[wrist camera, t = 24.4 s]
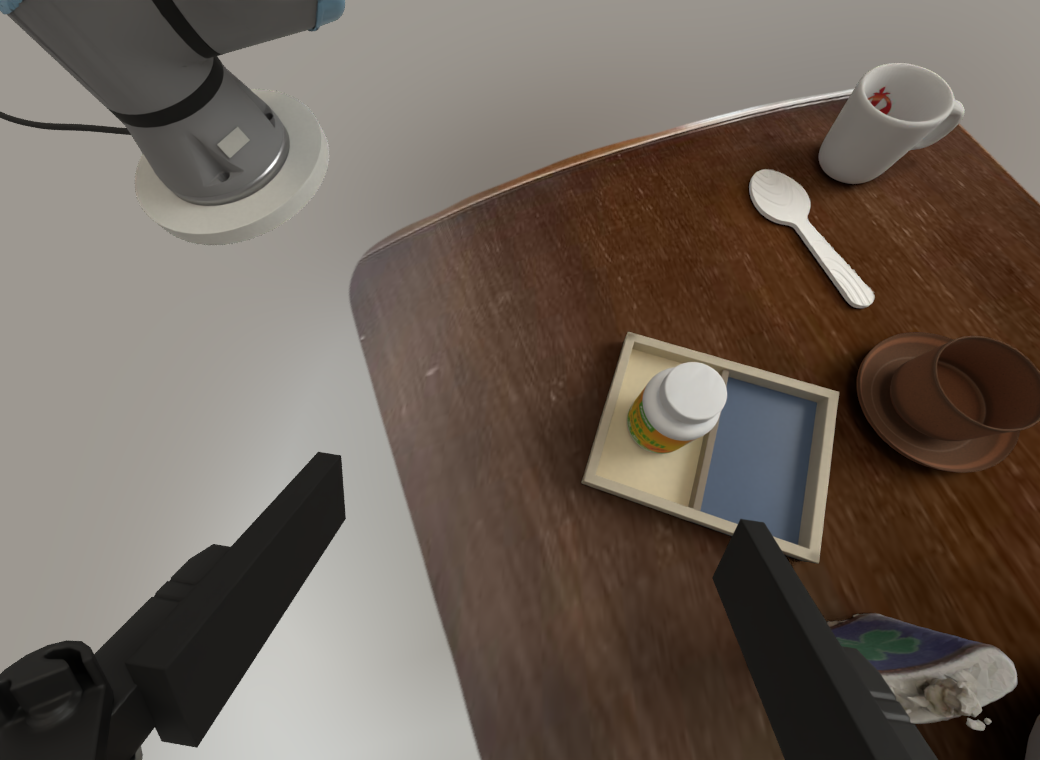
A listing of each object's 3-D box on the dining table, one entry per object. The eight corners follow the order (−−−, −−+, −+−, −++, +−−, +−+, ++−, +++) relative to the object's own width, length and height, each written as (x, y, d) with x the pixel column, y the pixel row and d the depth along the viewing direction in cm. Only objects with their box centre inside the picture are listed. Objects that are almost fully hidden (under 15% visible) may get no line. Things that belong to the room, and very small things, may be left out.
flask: (879, 607, 31) (1043, 650, 21) (899, 651, 30) (1082, 719, 20) (760, 636, 31) (867, 694, 20) (777, 681, 30) (898, 766, 19)
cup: (902, 136, 45) (974, 58, 38) (922, 193, 43) (1004, 123, 35) (800, 138, 46) (850, 62, 38) (814, 195, 43) (871, 125, 36)
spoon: (841, 317, 38) (845, 314, 38) (735, 181, 44) (738, 178, 44) (890, 297, 39) (894, 294, 38) (779, 165, 45) (781, 161, 44)
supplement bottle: (612, 421, 36) (635, 386, 27) (655, 382, 37) (691, 336, 28) (658, 468, 34) (700, 448, 25) (702, 426, 35) (757, 392, 26)
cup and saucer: (927, 322, 38) (996, 286, 32) (1029, 440, 34) (1129, 423, 28) (815, 371, 37) (865, 343, 31) (907, 498, 33) (984, 493, 27)
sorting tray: (580, 483, 35) (583, 480, 33) (623, 341, 39) (628, 331, 37) (802, 561, 32) (819, 563, 30) (823, 398, 36) (839, 391, 34)
